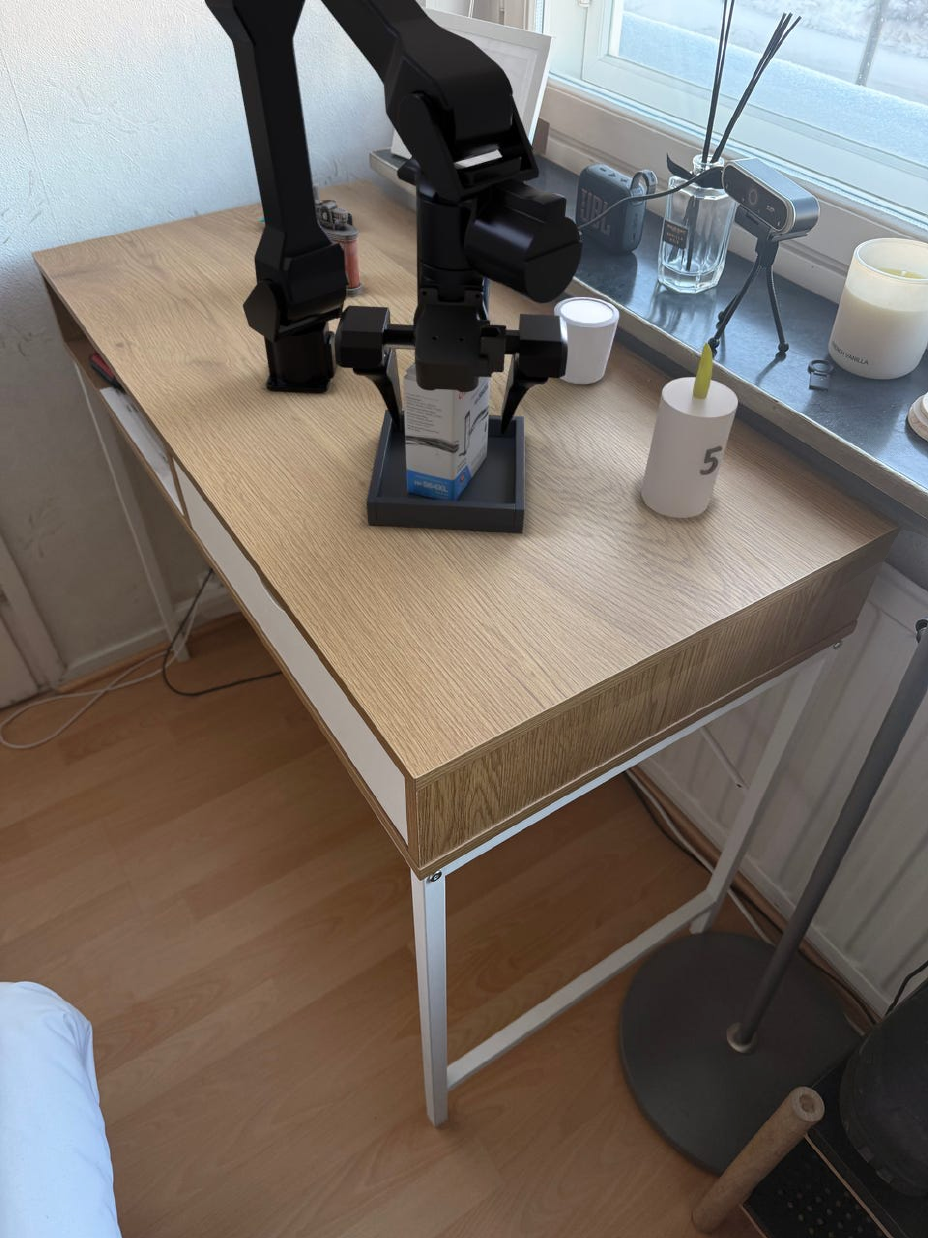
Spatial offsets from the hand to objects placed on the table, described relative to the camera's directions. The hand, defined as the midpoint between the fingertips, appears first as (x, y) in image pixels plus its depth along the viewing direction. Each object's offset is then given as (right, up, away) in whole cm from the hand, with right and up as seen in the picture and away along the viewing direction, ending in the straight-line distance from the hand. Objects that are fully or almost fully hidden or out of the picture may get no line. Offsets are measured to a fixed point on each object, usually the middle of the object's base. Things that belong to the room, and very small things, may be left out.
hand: (450, 429), depth 77 cm
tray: (0, -4, +4) cm, 6 cm away
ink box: (0, -4, +4) cm, 5 cm away
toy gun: (-20, +36, +43) cm, 60 cm away
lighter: (-15, +25, +32) cm, 43 cm away
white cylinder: (+14, +10, +19) cm, 25 cm away
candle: (+21, -6, +3) cm, 22 cm away
